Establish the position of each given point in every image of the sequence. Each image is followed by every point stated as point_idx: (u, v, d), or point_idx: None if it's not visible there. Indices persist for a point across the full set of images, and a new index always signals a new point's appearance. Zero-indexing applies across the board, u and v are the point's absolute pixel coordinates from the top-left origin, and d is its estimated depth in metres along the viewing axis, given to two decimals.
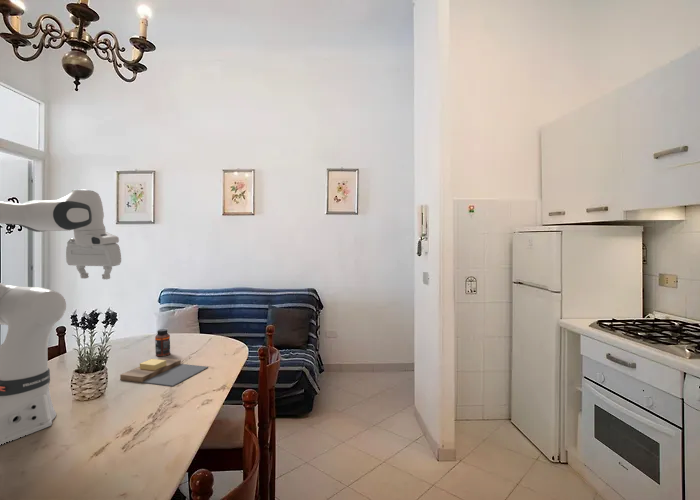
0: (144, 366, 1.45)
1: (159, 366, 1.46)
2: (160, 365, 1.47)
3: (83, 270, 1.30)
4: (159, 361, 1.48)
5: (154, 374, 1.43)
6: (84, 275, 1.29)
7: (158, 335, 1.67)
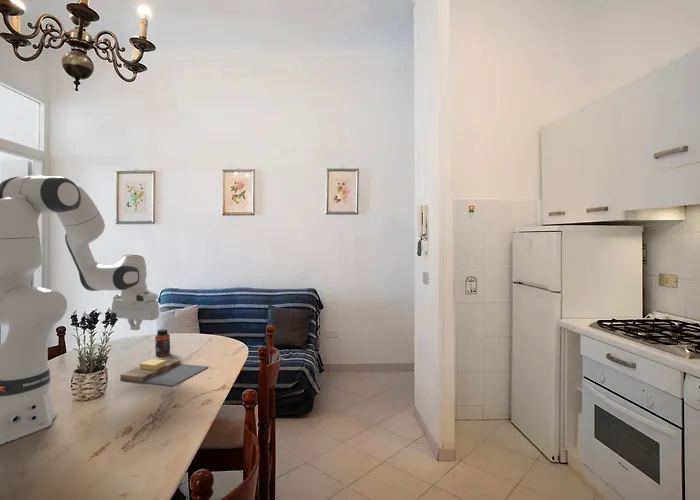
0: (144, 366, 1.45)
1: (159, 366, 1.46)
2: (160, 365, 1.47)
3: (133, 322, 1.50)
4: (159, 361, 1.48)
5: (154, 374, 1.43)
6: None
7: (158, 335, 1.67)
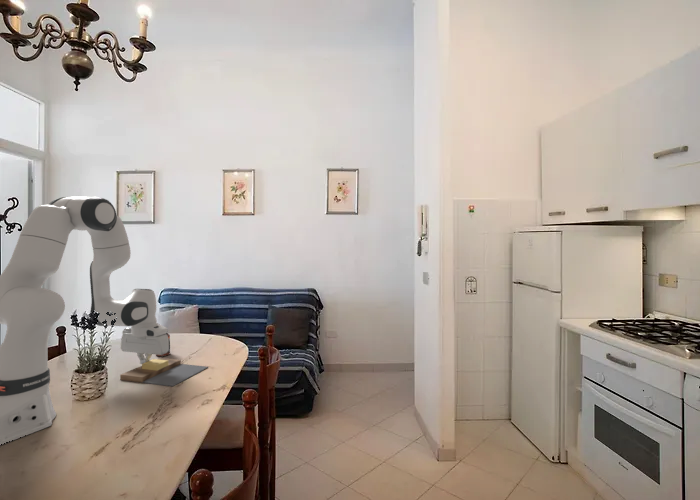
0: (147, 366, 1.45)
1: (161, 366, 1.46)
2: (162, 365, 1.47)
3: (142, 356, 1.49)
4: (161, 361, 1.48)
5: (154, 374, 1.43)
6: None
7: None
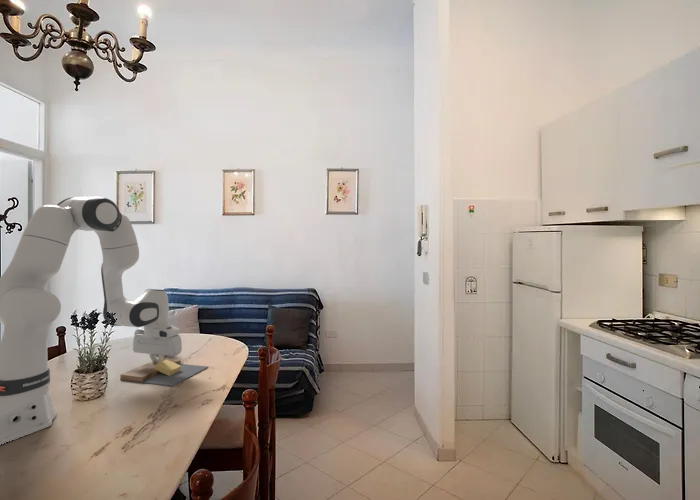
0: (160, 368, 1.44)
1: (174, 372, 1.45)
2: (175, 371, 1.45)
3: (155, 357, 1.48)
4: (174, 366, 1.47)
5: (154, 374, 1.43)
6: (156, 362, 1.47)
7: None
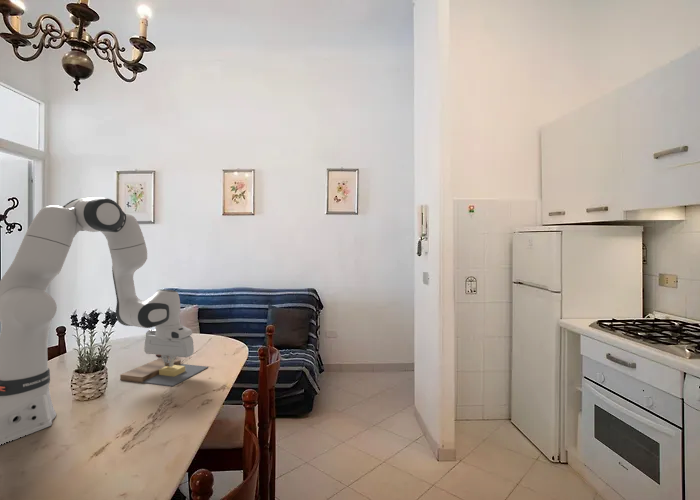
0: (164, 372, 1.43)
1: (178, 372, 1.44)
2: (179, 371, 1.45)
3: (166, 359, 1.46)
4: (178, 367, 1.46)
5: (154, 374, 1.43)
6: None
7: None
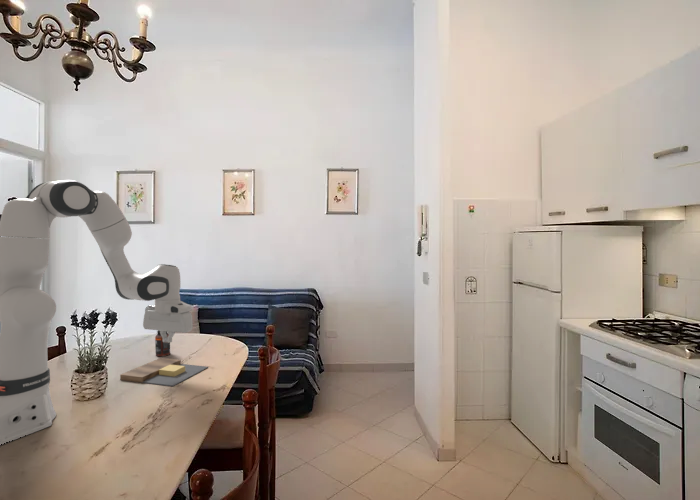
0: (164, 372, 1.43)
1: (178, 372, 1.44)
2: (179, 371, 1.45)
3: (165, 334, 1.46)
4: (178, 367, 1.46)
5: (154, 374, 1.43)
6: None
7: (158, 335, 1.67)
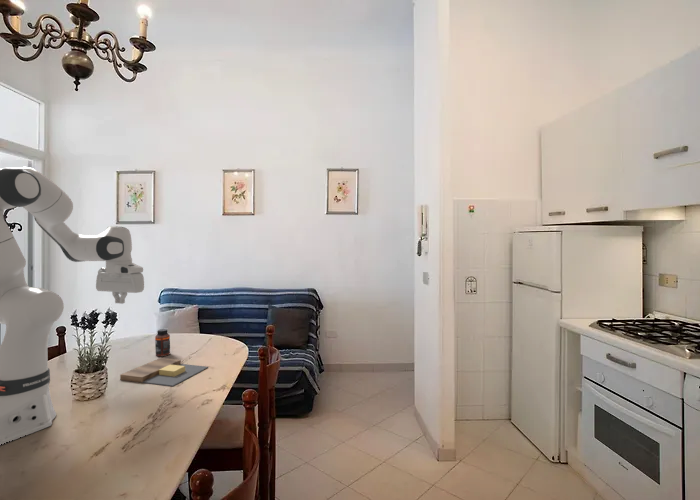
0: (164, 372, 1.43)
1: (178, 372, 1.44)
2: (179, 371, 1.45)
3: (117, 296, 1.48)
4: (178, 367, 1.46)
5: (154, 374, 1.43)
6: None
7: (158, 335, 1.67)
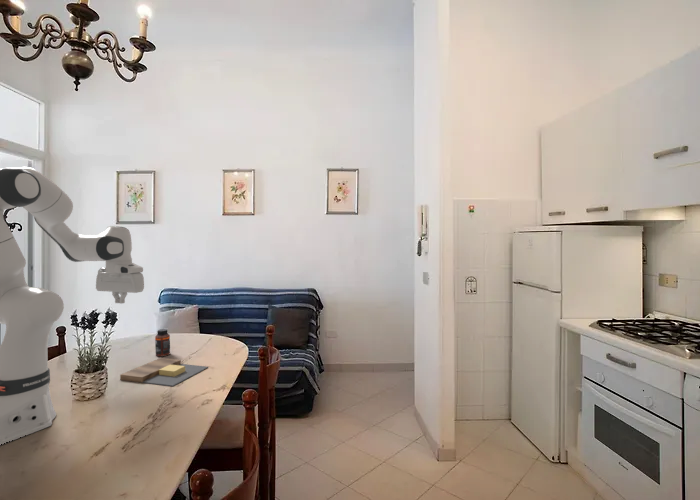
0: (164, 372, 1.43)
1: (178, 372, 1.44)
2: (179, 371, 1.45)
3: (117, 296, 1.48)
4: (178, 367, 1.46)
5: (154, 374, 1.43)
6: (118, 300, 1.47)
7: (158, 335, 1.67)
